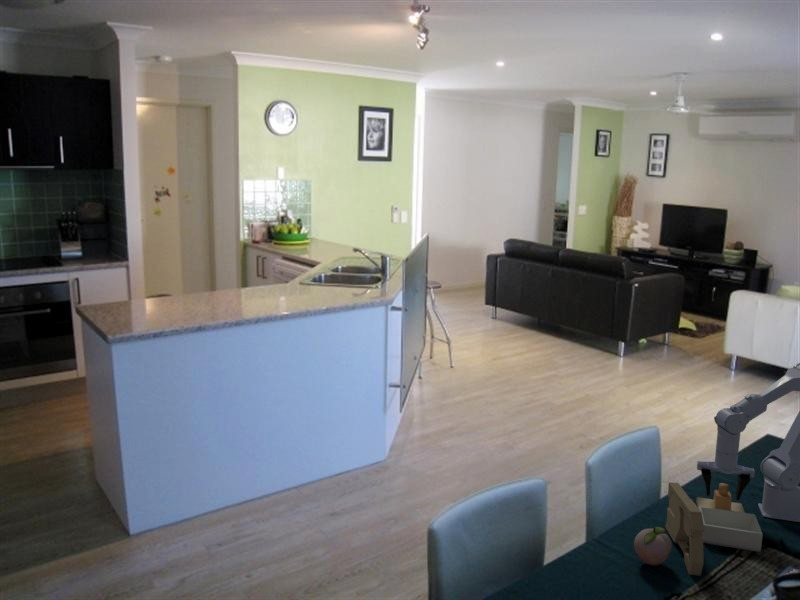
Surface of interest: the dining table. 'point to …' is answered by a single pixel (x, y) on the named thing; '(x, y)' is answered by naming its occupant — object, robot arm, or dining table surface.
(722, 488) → the orange knobbed block
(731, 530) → the bin
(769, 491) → the robot arm
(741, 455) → the dining table surface
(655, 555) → the decorative fruit
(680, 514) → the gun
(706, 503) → the stud board
